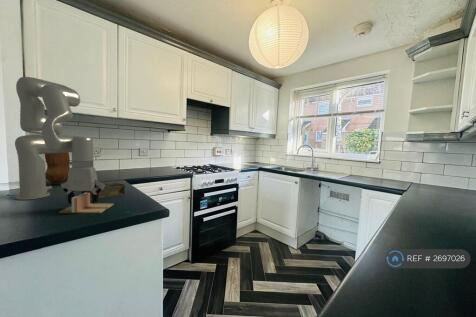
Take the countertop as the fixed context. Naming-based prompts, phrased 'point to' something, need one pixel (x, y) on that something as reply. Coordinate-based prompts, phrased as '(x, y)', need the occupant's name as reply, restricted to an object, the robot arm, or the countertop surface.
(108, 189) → the beverage carton
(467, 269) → the countertop surface
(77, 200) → the slab
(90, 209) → the mat
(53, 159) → the butternut squash
